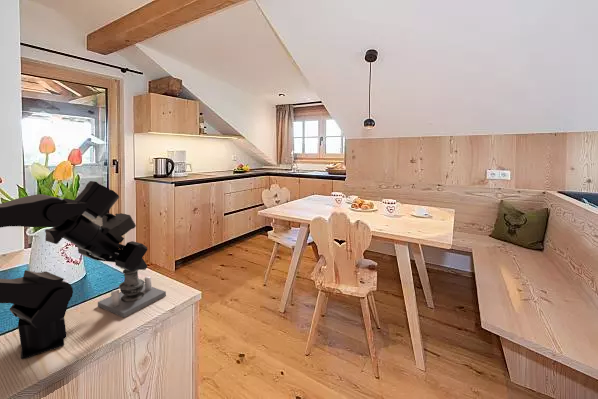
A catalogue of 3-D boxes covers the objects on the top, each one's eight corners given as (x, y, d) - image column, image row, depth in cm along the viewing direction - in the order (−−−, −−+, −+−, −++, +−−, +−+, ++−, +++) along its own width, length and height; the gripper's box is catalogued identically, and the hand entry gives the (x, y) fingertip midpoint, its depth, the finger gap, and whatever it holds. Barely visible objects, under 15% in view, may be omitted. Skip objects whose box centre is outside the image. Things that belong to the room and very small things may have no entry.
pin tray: (123, 317, 71) (122, 299, 70) (98, 306, 75) (96, 289, 74) (165, 295, 81) (165, 279, 80) (141, 286, 86) (140, 271, 85)
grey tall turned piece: (149, 296, 78) (147, 252, 76) (126, 305, 74) (122, 259, 71) (138, 289, 82) (135, 247, 80) (115, 297, 77) (111, 253, 75)
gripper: (137, 210, 66) (178, 244, 78) (86, 200, 74) (131, 232, 86) (104, 255, 60) (154, 284, 72) (53, 239, 68) (105, 267, 80)
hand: (136, 264), depth 78 cm, fingers open, 7 cm apart
